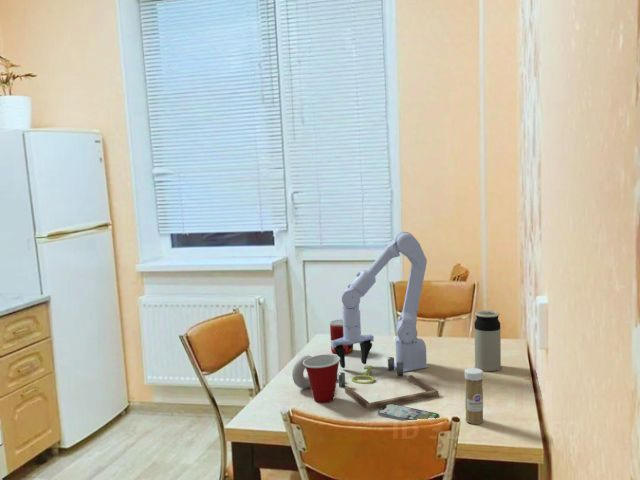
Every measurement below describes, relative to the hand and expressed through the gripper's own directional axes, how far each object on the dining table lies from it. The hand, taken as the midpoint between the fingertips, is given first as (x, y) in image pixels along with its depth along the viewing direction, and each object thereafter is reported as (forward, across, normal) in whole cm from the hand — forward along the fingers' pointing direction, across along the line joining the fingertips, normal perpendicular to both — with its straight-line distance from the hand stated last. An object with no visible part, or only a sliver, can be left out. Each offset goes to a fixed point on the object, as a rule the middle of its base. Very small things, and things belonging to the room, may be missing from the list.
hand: (353, 365), depth 201 cm
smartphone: (+2, +3, +42) cm, 42 cm away
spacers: (+1, 0, +11) cm, 11 cm away
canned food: (+1, -4, -18) cm, 19 cm away
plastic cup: (+1, +19, +21) cm, 28 cm away
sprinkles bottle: (+1, -10, +52) cm, 53 cm away
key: (+2, 0, +10) cm, 10 cm away
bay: (+1, 0, +26) cm, 26 cm away
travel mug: (+1, -38, +20) cm, 43 cm away
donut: (+1, +20, +10) cm, 22 cm away
